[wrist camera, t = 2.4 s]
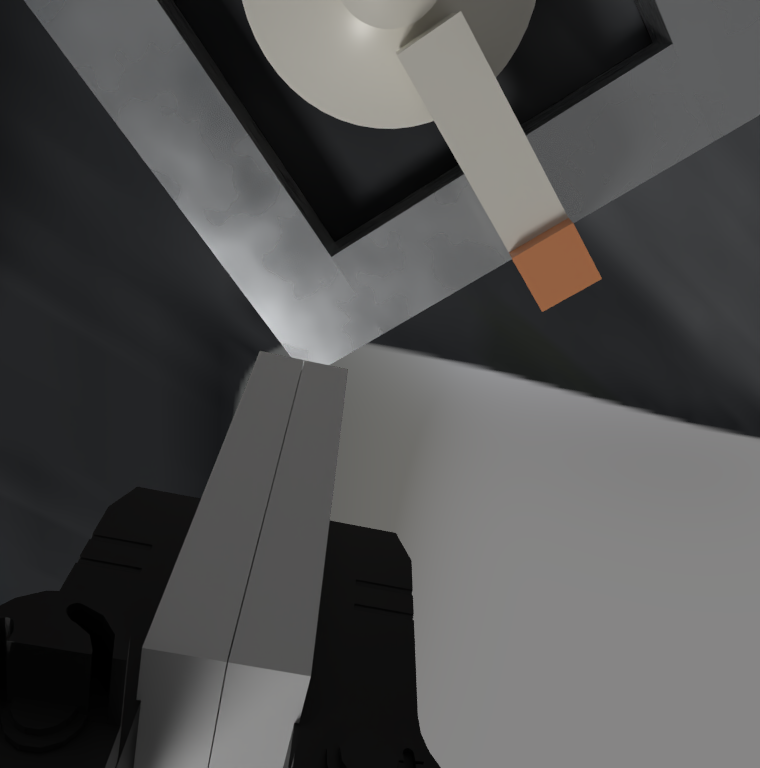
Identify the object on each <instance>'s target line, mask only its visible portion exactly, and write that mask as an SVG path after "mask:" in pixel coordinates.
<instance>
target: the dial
mask: <svg viewBox="0 0 760 768" xmlns="http://www.w3.org/2000/svg"><path fill="white" fill-rule="evenodd" d="M242 2H243V6H244V9H245V13H246V16H247V19H248V22H249V24H250V27H251V29H252V32H253V34H254V36H255V39H256V41H257V42H258V44H259V46H260V48H261V50H262V51H263V53H264V55H265V57H266V58H267V60H268V61H269V62H270V64H271V65H272V67H273V68H274V69H275V71H276V72H277V73H278V75H279V76H280V77H281V78H282V79H283V80H284V81H285V82H286V83H287V84H288V85H289V87H290V88H291V89H292V90H294V91H295V92H296V93H297V94H298V95H300V96H301V97H302V98H303V99H304V100H306V101H307V102H308V103H310V104H311V105H313V106H315V107H316V108H318V109H319V110H321V111H322V112H324V113H327V114H329V115H331V116H333V117H335V118H337V119H339V120H342V121H346V122H349V123H352V124H355V125H359V126H365V127H371V128H386V129H396V128H405V127H413V126H417V125H421V124H425V123H429V122H432V121H434V122H435V123H436V125H437V127H438V129H439V130H440V132H441V134H442V136H443V137H444V139H445V141H446V143H447V144H448V146H449V148H450V150H451V152H452V153H453V155H454V157H455V159H456V160H457V162H458V164H459V166H460V167H461V169H462V171H463V173H464V174H465V176H466V178H467V180H468V182H469V183H470V185H471V187H472V189H473V190H474V192H475V194H476V196H477V197H478V199H479V201H480V203H481V204H482V206H483V208H484V210H485V212H486V213H487V215H488V217H489V219H490V220H491V222H492V224H493V226H494V227H495V229H496V231H497V233H498V234H499V236H500V238H501V240H502V241H503V243H504V245H505V247H506V249H507V250H508V252H509V254H510V256H511V258H512V260H513V261H514V263H515V265H516V267H517V268H518V270H519V272H520V274H521V275H522V277H523V279H524V281H525V282H526V284H527V286H528V288H529V289H530V291H531V293H532V295H533V297H534V298H535V300H536V302H537V304H538V305H539V307H540V309H541V311H542V312H543V311H545V310H547V309H548V308H550V307H552V306H554V305H556V304H557V303H559V302H561V301H563V300H565V299H566V298H568V297H570V296H572V295H574V294H575V293H577V292H579V291H581V290H583V289H584V288H586V287H588V286H590V285H592V284H593V283H595V282H597V281H599V280H601V279H602V278H601V276H600V274H599V272H598V270H597V268H596V266H595V264H594V262H593V260H592V259H591V257H590V255H589V253H588V251H587V249H586V247H585V245H584V243H583V241H582V239H581V237H580V235H579V233H578V232H577V230H576V228H575V226H574V224H573V222H572V221H571V220H570V219H569V218H568V216H567V214H566V212H565V210H564V208H563V206H562V205H561V203H560V201H559V199H558V197H557V195H556V193H555V191H554V189H553V187H552V185H551V183H550V181H549V180H548V178H547V176H546V174H545V172H544V170H543V168H542V166H541V164H540V162H539V160H538V158H537V156H536V154H535V153H534V151H533V149H532V147H531V145H530V143H529V141H528V139H527V137H526V135H525V133H524V131H523V129H522V128H521V126H520V124H519V122H518V120H517V118H516V116H515V114H514V112H513V110H512V108H511V106H510V104H509V102H508V101H507V99H506V97H505V95H504V93H503V91H502V89H501V87H500V85H499V83H498V81H497V79H496V77H497V76H498V75H499V73H500V72H501V71H502V70H503V69H504V67H505V66H506V65H507V63H508V62H509V60H510V59H511V57H512V56H513V54H514V52H515V51H516V49H517V48H518V46H519V44H520V42H521V40H522V37H523V35H524V33H525V31H526V29H527V27H528V24H529V21H530V18H531V15H532V13H533V10H534V7H535V3H536V0H242Z"/></svg>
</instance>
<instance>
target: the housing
mask: <svg viewBox="0 0 760 768" xmlns="http://www.w3.org/2000/svg"><path fill="white" fill-rule="evenodd" d="M24 1H25V2H26V4H27V5H28V6H29V8H30V9H31V10H32V12H33V13H34V14H35V16H36V17H37V18H38V20H39V21H40V22H41V24H42V25H43V26H44V28H45V29H46V30H47V32H48V33H49V34H50V36H51V37H52V38H53V40H54V41H55V42H56V44H57V45H58V46H59V48H60V49H61V50H62V52H63V53H64V54H65V56H66V57H67V58H68V60H69V61H70V62H71V64H72V65H73V66H74V68H75V69H76V70H77V72H78V73H79V74H80V76H81V77H82V78H83V80H84V81H85V82H86V84H87V85H88V86H89V88H90V89H91V90H92V92H93V93H94V94H95V96H96V97H97V98H98V100H99V101H100V102H101V104H102V105H103V106H104V108H105V109H106V110H107V112H108V113H109V114H110V116H111V117H112V118H113V120H114V121H115V122H116V124H117V125H118V126H119V128H120V129H121V130H122V132H123V133H124V134H125V136H126V137H127V138H128V140H129V141H130V143H131V144H132V145H133V147H134V148H135V149H136V151H137V152H138V153H139V155H140V156H141V157H142V159H143V160H144V161H145V163H146V164H147V165H148V167H149V168H150V169H151V171H152V172H153V173H154V175H155V176H156V177H157V179H158V180H159V181H160V183H161V184H162V185H163V187H164V188H165V189H166V191H167V192H168V193H169V195H170V196H171V197H172V199H173V200H174V201H175V203H176V204H177V205H178V207H179V208H180V209H181V211H182V212H183V213H184V215H185V216H186V217H187V219H188V220H189V221H190V223H191V224H192V225H193V227H194V228H195V229H196V231H197V232H198V233H199V235H200V236H201V237H202V239H203V240H204V241H205V243H206V244H207V245H208V247H209V248H210V249H211V251H212V252H213V253H214V255H215V256H216V257H217V259H218V260H219V261H220V263H221V264H222V265H223V267H224V268H225V269H226V271H227V272H228V273H229V275H230V276H231V277H232V279H233V280H234V281H235V283H236V284H237V285H238V287H239V288H240V289H241V291H242V292H243V293H244V295H245V296H246V297H247V299H248V300H249V301H250V303H251V304H252V305H253V307H254V308H255V309H256V311H257V312H258V313H259V315H260V316H261V317H262V319H263V320H264V321H265V323H266V324H267V325H268V327H269V328H270V329H271V331H272V332H273V333H274V335H275V336H276V337H277V339H278V340H279V341H280V343H281V344H282V345H283V347H284V348H285V349H286V351H287V352H288V353H289V355H290V356H291V357H292V358H296V359H301V360H306V361H311V362H316V363H320V364H325V365H330V364H332V363H334V362H335V361H337V360H339V359H340V358H342V357H344V356H346V355H347V354H349V353H351V352H353V351H354V350H356V349H358V348H360V347H361V346H363V345H365V344H366V343H368V342H370V341H372V340H373V339H375V338H377V337H378V336H380V335H382V334H384V333H385V332H387V331H389V330H390V329H392V328H394V327H396V326H397V325H399V324H401V323H403V322H404V321H406V320H408V319H409V318H411V317H413V316H415V315H416V314H418V313H420V312H421V311H423V310H425V309H427V308H428V307H430V306H432V305H433V304H435V303H437V302H439V301H440V300H442V299H444V298H446V297H447V296H449V295H451V294H452V293H454V292H456V291H458V290H459V289H461V288H463V287H464V286H466V285H468V284H470V283H471V282H473V281H475V280H476V279H478V278H480V277H482V276H483V275H485V274H487V273H489V272H490V271H492V270H494V269H495V268H497V267H499V266H501V265H502V264H504V263H506V262H507V261H509V260H511V259H512V258H511V256H510V254H509V252H508V250H507V249H506V247H505V245H504V243H503V241H502V240H501V238H500V236H499V234H498V233H497V231H496V229H495V227H494V226H493V224H492V222H491V220H490V219H489V217H488V215H487V213H486V212H485V210H484V208H483V206H482V204H481V203H480V201H479V199H478V197H477V196H476V194H475V192H474V190H473V189H472V187H471V185H470V183H469V182H468V180H467V178H466V176H465V174H464V173H463V171H462V169H461V167H460V166H459V164H458V165H457V166H455V167H453V168H452V169H450V170H449V171H447V172H445V173H444V174H442V175H441V176H439V177H438V178H436V179H434V180H433V181H431V182H430V183H428V184H426V185H425V186H423V187H422V188H420V189H418V190H417V191H415V192H414V193H412V194H411V195H409V196H407V197H406V198H404V199H403V200H401V201H399V202H398V203H396V204H395V205H393V206H392V207H390V208H388V209H387V210H385V211H384V212H382V213H380V214H379V215H377V216H376V217H374V218H372V219H371V220H369V221H368V222H366V223H365V224H363V225H361V226H360V227H358V228H357V229H355V230H353V231H352V232H350V233H349V234H347V235H345V236H344V237H342V238H341V239H339V240H338V241H336V242H334V240H333V239H332V237H331V236H330V234H329V233H328V231H327V230H326V228H325V227H324V225H323V224H322V222H321V221H320V219H319V218H318V216H317V215H316V213H315V212H314V210H313V209H312V207H311V206H310V204H309V203H308V201H307V200H306V198H305V197H304V195H303V194H302V192H301V191H300V189H299V188H298V186H297V185H296V183H295V182H294V180H293V179H292V177H291V176H290V174H289V173H288V171H287V170H286V168H285V167H284V165H283V164H282V162H281V161H280V159H279V158H278V156H277V155H276V153H275V152H274V150H273V149H272V148H271V146H270V145H269V143H268V142H267V140H266V139H265V137H264V136H263V134H262V133H261V131H260V130H259V128H258V127H257V125H256V124H255V122H254V121H253V119H252V118H251V116H250V115H249V113H248V112H247V110H246V109H245V107H244V106H243V104H242V103H241V101H240V100H239V98H238V97H237V95H236V94H235V92H234V91H233V89H232V88H231V86H230V85H229V83H228V82H227V80H226V79H225V77H224V76H223V74H222V73H221V71H220V70H219V68H218V67H217V65H216V64H215V62H214V61H213V59H212V58H211V56H210V55H209V53H208V52H207V50H206V49H205V47H204V46H203V44H202V43H201V41H200V40H199V39H198V37H197V36H196V34H195V33H194V31H193V30H192V28H191V27H190V25H189V24H188V22H187V21H186V19H185V18H184V16H183V15H182V13H181V12H180V10H179V9H178V7H177V6H176V4H175V3H174V1H173V0H24ZM635 2H636V5H637V7H638V9H639V12H640V14H641V17H642V19H643V21H644V24H645V26H646V28H647V31H648V33H649V35H650V38H651V40H652V43H650V44H649V45H647V46H646V47H644V48H642V49H641V50H639V51H638V52H636V53H634V54H633V55H631V56H630V57H628V58H626V59H625V60H623V61H622V62H620V63H619V64H617V65H615V66H614V67H612V68H611V69H609V70H607V71H606V72H604V73H603V74H601V75H599V76H598V77H596V78H595V79H593V80H592V81H590V82H588V83H587V84H585V85H584V86H582V87H580V88H579V89H577V90H576V91H574V92H573V93H571V94H569V95H568V96H566V97H565V98H563V99H561V100H560V101H558V102H557V103H555V104H553V105H552V106H550V107H549V108H547V109H546V110H544V111H542V112H541V113H539V114H538V115H536V116H534V117H533V118H531V119H530V120H528V121H526V122H525V123H523V124H522V125H520V126H521V128H522V129H523V131H524V133H525V135H526V137H527V139H528V141H529V143H530V145H531V147H532V149H533V151H534V153H535V154H536V156H537V158H538V160H539V162H540V164H541V166H542V168H543V170H544V172H545V174H546V176H547V178H548V180H549V181H550V183H551V185H552V187H553V189H554V191H555V193H556V195H557V197H558V199H559V201H560V203H561V205H562V206H563V208H564V210H565V212H566V214H567V216H568V218H569V219H570V220H571V221H572V222H573V223H574V222H576V221H578V220H580V219H581V218H583V217H585V216H587V215H588V214H590V213H592V212H593V211H595V210H597V209H599V208H600V207H602V206H604V205H605V204H607V203H609V202H611V201H612V200H614V199H616V198H617V197H619V196H621V195H623V194H624V193H626V192H628V191H630V190H631V189H633V188H635V187H636V186H638V185H640V184H642V183H643V182H645V181H647V180H648V179H650V178H652V177H654V176H655V175H657V174H659V173H660V172H662V171H664V170H666V169H667V168H669V167H671V166H673V165H674V164H676V163H678V162H679V161H681V160H683V159H685V158H686V157H688V156H690V155H691V154H693V153H695V152H697V151H698V150H700V149H702V148H703V147H705V146H707V145H709V144H710V143H712V142H714V141H716V140H717V139H719V138H721V137H722V136H724V135H726V134H728V133H729V132H731V131H733V130H734V129H736V128H738V127H740V126H741V125H743V124H745V123H746V122H748V121H750V120H752V119H753V118H755V117H757V116H759V115H760V0H635ZM303 364H304V361H303ZM302 368H303V366H302Z"/></svg>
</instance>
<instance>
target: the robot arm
mask: <svg viewBox="0 0 760 768" xmlns="http://www.w3.org/2000/svg"><path fill="white" fill-rule="evenodd" d="M303 361H304V364H303ZM302 366H303V368H302ZM301 371H302V372H301ZM347 373H348V369H344V368H340V367H335V366H330V365H325V364H320V363H316V362H311V361H306V360H301V359H296V358H292V357H286V356H282V355H277V354H272V353H268V352H263V351H260V352H259V354H258V357H257V359H256V362H255V364H254V367H253V369H252V372H251V374H250V377H249V379H248V382H247V385H246V387H245V390H244V392H243V395H242V397H241V400H240V402H239V405H238V407H237V410H236V412H235V415H234V417H233V420H232V422H231V425H230V427H229V430H228V432H227V435H226V437H225V440H224V442H223V445H222V448H221V450H220V453H219V455H218V458H217V460H216V463H215V465H214V468H213V470H212V473H211V475H210V478H209V480H208V483H207V485H206V488H205V490H204V493H203V495H202V498H201V499H200V498H194V497H189V496H184V495H178V494H173V493H168V492H163V491H157V490H152V489H147V488H141V487H136V488H135V489H133V490H132V491H131V492H129V493H128V494H126V495H125V496H123V497H122V498H120V499H119V500H118V501H116V502H115V503H113V504H112V505H110V506H109V507H108V508H107V510H106V512H105V514H104V515H103V517H102V519H101V521H100V522H99V524H98V526H97V527H96V529H95V531H94V533H93V535H92V539H91V540H90V539H89V541H88V543H87V545H86V546H85V548H84V550H83V551H82V553H81V555H80V557H79V561H78V563H75V565H74V567H73V569H72V570H71V572H70V574H69V575H68V577H67V579H66V581H65V582H64V584H63V586H62V588H61V589H60V591H44V592H39V593H35V594H30V595H26V596H21V597H17V598H14V599H12V600H10V601H8V602H6V603H5V604H3V605H1V606H0V768H440V766H439V765H438V763H437V762H436V761H435V759H434V758H433V756H432V755H431V754H430V752H429V750H428V749H427V746H426V744H425V742H424V739H423V737H422V735H421V733H420V727H419V721H418V713H417V690H416V689H417V688H416V664H415V639H414V620H413V596H412V567H411V566H412V565H411V559H410V557H409V556H408V554H407V552H406V550H405V549H404V547H403V545H402V543H401V542H400V540H399V538H398V536H397V534H396V533H393V532H386V531H382V530H377V529H371V528H366V527H361V526H355V525H350V524H345V523H340V522H334V521H330V513H331V505H332V496H333V489H334V480H335V472H336V464H337V455H338V447H339V438H340V431H341V422H342V413H343V406H344V397H345V389H346V381H347Z"/></svg>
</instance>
